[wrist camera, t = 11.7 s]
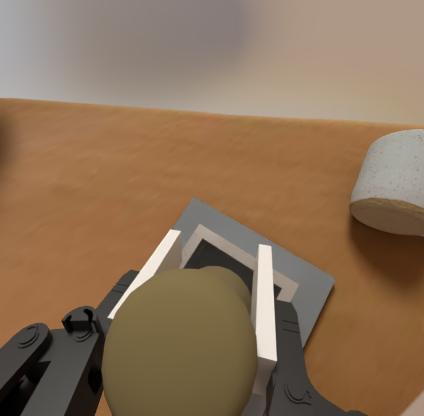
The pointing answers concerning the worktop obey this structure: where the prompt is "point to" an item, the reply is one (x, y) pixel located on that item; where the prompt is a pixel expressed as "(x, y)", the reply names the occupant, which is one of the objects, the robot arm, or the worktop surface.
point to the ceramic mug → (392, 184)
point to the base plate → (281, 261)
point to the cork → (182, 346)
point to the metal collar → (206, 238)
